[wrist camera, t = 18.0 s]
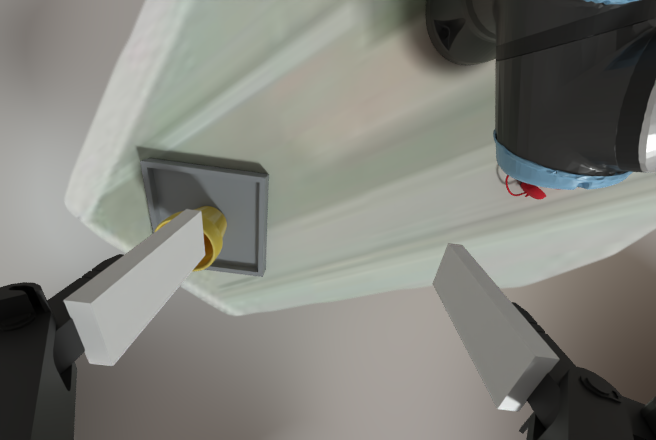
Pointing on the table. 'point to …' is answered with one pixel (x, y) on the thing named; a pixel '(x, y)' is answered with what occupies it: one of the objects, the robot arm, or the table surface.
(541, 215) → the table surface
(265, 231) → the tray
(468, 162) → the table surface
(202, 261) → the plant pot
